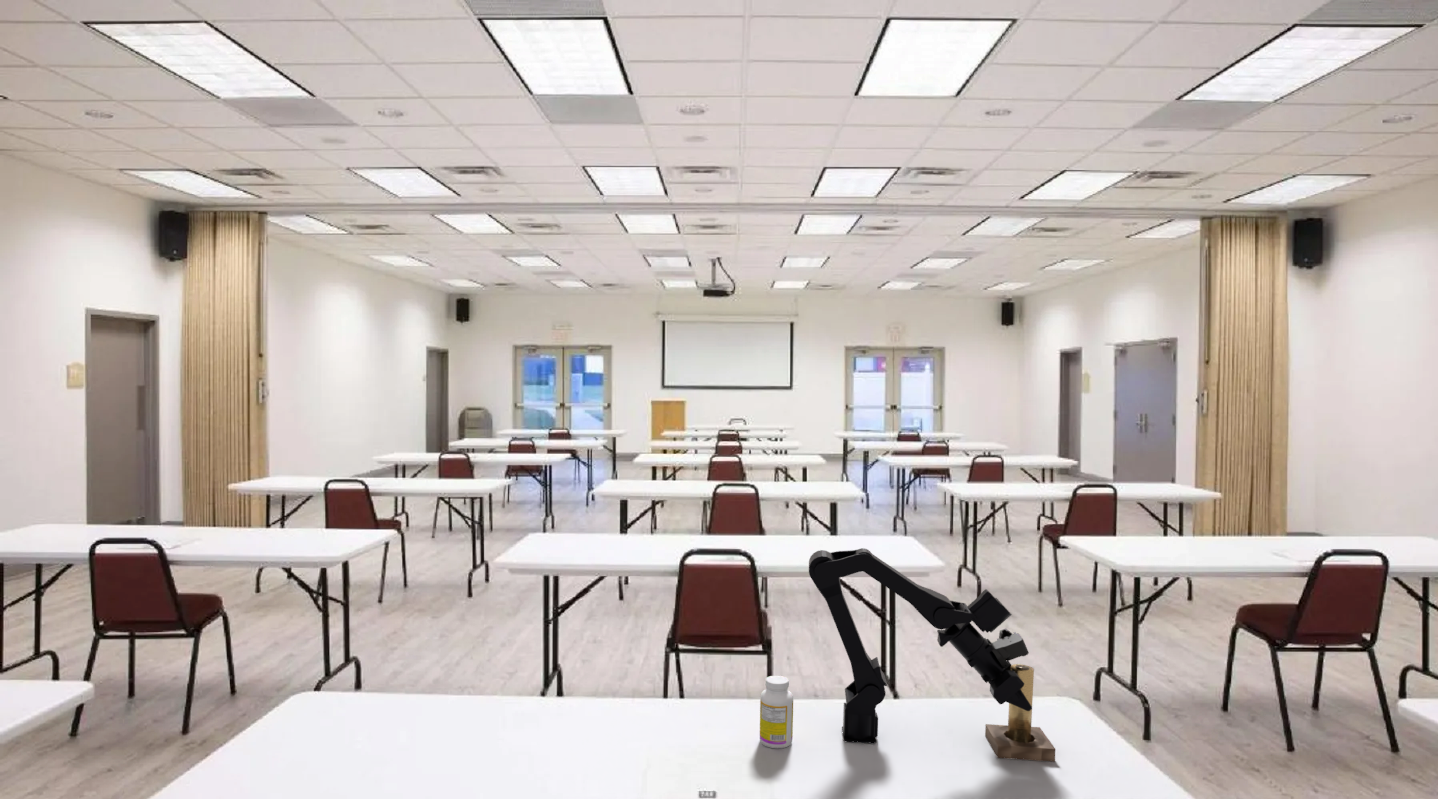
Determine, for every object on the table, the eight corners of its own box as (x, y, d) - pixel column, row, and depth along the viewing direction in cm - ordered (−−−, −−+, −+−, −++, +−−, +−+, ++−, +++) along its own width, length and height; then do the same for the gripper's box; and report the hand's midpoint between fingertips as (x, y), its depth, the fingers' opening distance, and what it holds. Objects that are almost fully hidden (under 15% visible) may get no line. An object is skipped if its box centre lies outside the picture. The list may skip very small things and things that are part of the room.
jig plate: (997, 758, 163) (997, 745, 163) (985, 735, 173) (985, 724, 173) (1054, 761, 162) (1055, 748, 162) (1039, 739, 172) (1039, 727, 172)
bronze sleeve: (1015, 747, 165) (1019, 671, 164) (1002, 737, 169) (1006, 664, 168) (1035, 745, 166) (1038, 670, 165) (1021, 735, 170) (1025, 662, 169)
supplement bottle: (774, 732, 172) (776, 671, 171) (799, 743, 167) (800, 680, 167) (752, 741, 167) (754, 678, 167) (777, 753, 162) (778, 688, 162)
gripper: (1014, 635, 158) (1072, 696, 157) (993, 608, 176) (1045, 663, 175) (970, 673, 159) (1027, 734, 158) (954, 642, 177) (1005, 697, 176)
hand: (1027, 704), depth 167 cm, fingers closed on bronze sleeve, 4 cm apart
